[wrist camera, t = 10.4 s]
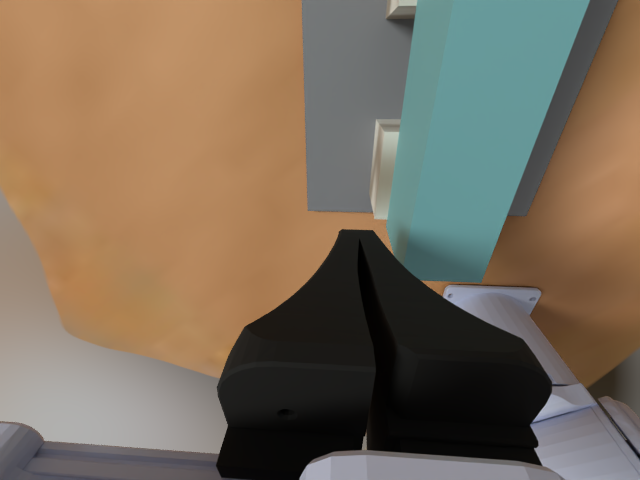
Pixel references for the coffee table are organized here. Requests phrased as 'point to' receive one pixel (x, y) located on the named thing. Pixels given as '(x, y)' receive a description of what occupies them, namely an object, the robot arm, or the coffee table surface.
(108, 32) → the coffee table surface
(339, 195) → the grey flat plate
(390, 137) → the pillar
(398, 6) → the pillar
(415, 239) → the teal beam
